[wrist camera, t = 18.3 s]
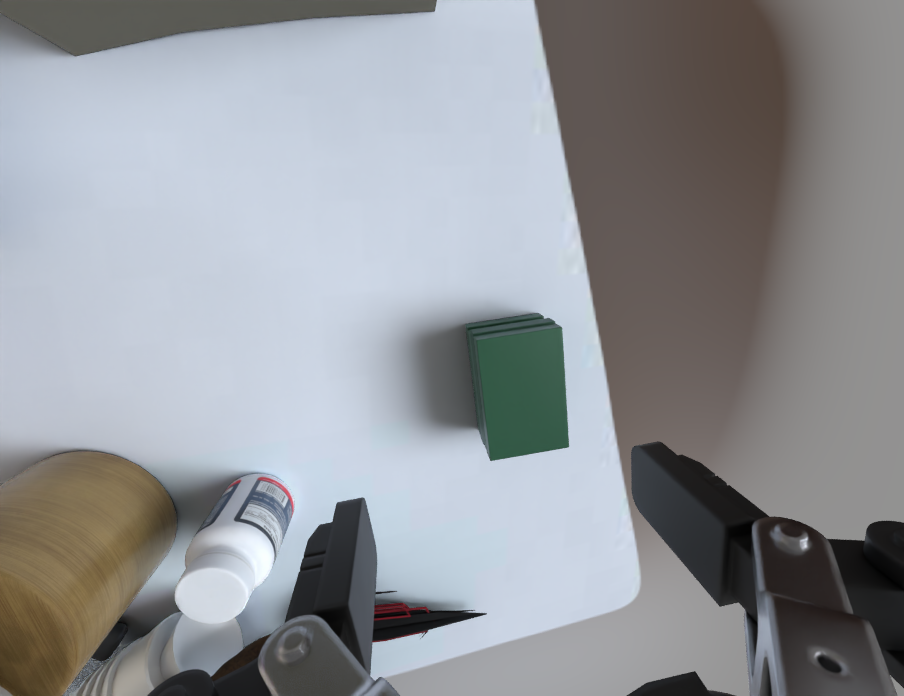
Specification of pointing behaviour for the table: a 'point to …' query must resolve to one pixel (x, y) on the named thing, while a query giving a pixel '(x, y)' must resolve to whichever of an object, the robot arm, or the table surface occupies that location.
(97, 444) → the table surface
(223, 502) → the pill bottle
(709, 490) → the robot arm
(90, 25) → the book
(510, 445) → the green pocket book
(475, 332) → the green book stack
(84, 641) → the lamp
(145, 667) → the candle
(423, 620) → the toy spacecraft
